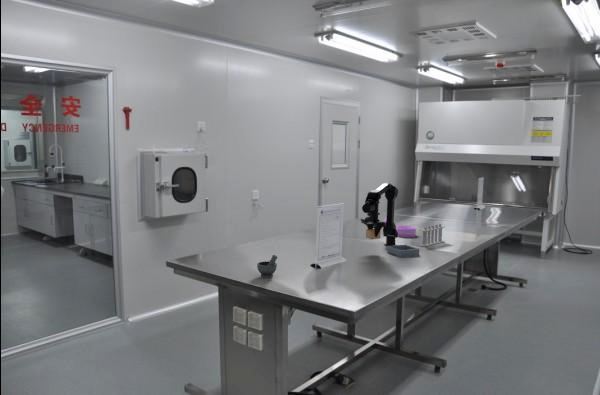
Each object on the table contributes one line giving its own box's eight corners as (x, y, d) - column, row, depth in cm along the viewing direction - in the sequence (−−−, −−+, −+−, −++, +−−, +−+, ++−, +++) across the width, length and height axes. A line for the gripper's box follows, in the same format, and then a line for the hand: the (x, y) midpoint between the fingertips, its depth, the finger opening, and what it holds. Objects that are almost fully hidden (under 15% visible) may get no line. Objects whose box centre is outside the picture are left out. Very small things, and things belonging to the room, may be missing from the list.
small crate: (365, 237, 292) (366, 229, 291) (374, 236, 294) (375, 228, 294) (371, 239, 286) (371, 231, 285) (380, 238, 288) (380, 230, 288)
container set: (417, 234, 352) (418, 217, 351) (412, 238, 339) (413, 220, 338) (386, 231, 364) (386, 215, 363) (379, 235, 351) (380, 217, 349)
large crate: (387, 252, 293) (387, 246, 292) (405, 250, 298) (405, 244, 297) (400, 257, 280) (400, 250, 279) (419, 255, 285) (419, 249, 285)
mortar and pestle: (253, 277, 235) (253, 254, 233) (265, 273, 242) (265, 250, 241) (270, 281, 228) (270, 257, 227) (282, 276, 236) (282, 253, 235)
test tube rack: (424, 247, 309) (425, 227, 308) (419, 246, 312) (419, 226, 311) (444, 242, 326) (445, 223, 324) (439, 241, 329) (440, 222, 328)
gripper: (355, 209, 294) (354, 234, 295) (370, 214, 276) (369, 239, 278) (370, 209, 298) (369, 232, 300) (386, 213, 281) (385, 238, 282)
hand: (373, 235), depth 290 cm, fingers closed on small crate, 6 cm apart
